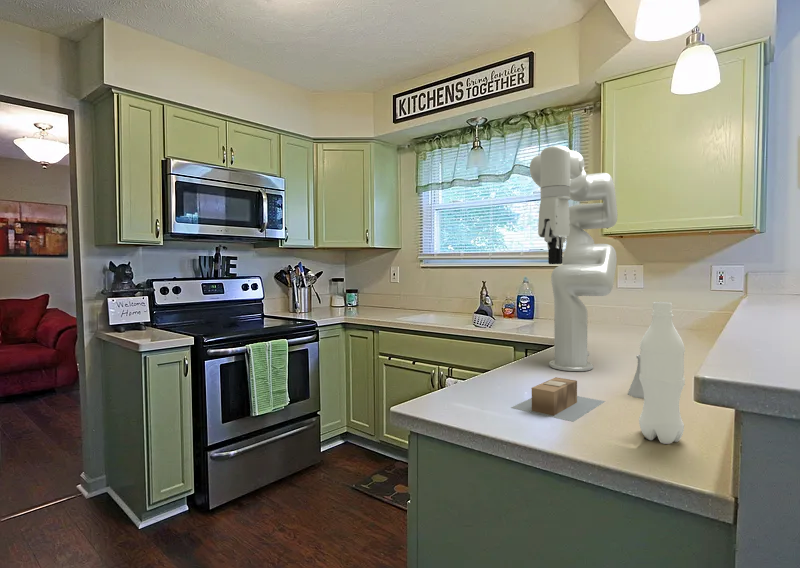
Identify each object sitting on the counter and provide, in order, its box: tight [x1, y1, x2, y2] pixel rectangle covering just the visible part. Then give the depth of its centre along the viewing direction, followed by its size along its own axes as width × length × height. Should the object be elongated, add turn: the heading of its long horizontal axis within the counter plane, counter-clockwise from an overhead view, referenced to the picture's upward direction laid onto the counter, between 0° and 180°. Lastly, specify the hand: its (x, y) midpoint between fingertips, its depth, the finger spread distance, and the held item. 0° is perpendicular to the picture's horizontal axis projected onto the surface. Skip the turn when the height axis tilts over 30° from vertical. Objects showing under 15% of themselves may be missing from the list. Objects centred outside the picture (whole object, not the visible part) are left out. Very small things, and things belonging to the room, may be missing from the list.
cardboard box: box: [531, 376, 578, 416], centre depth 103 cm, size 5×5×12 cm
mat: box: [510, 395, 606, 423], centre depth 104 cm, size 18×14×1 cm
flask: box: [627, 354, 644, 400], centre depth 111 cm, size 7×7×10 cm
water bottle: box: [638, 301, 686, 445], centre depth 84 cm, size 7×7×25 cm
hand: (555, 263), depth 124 cm, fingers closed
